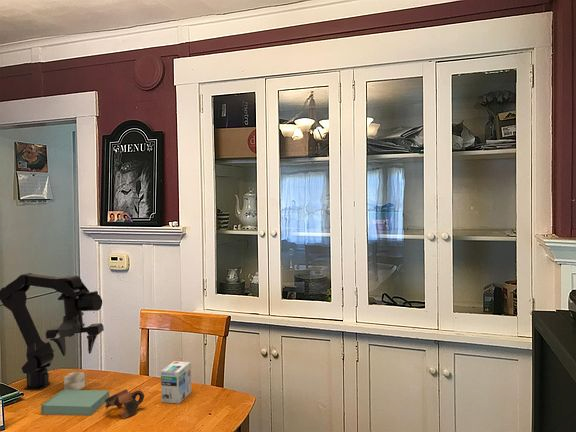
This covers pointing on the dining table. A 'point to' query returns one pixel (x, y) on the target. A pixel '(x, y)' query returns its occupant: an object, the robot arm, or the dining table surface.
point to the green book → (75, 402)
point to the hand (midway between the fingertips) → (77, 354)
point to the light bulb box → (176, 382)
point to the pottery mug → (125, 402)
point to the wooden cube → (74, 381)
